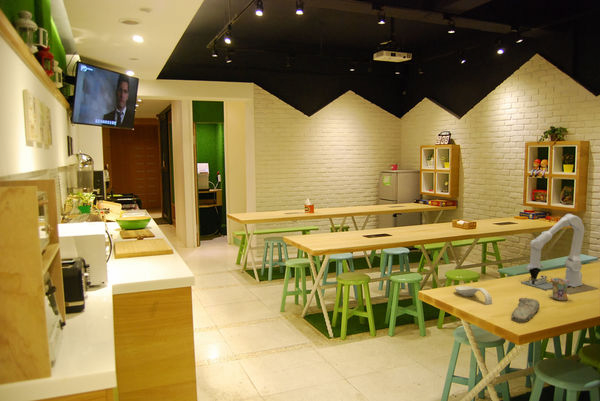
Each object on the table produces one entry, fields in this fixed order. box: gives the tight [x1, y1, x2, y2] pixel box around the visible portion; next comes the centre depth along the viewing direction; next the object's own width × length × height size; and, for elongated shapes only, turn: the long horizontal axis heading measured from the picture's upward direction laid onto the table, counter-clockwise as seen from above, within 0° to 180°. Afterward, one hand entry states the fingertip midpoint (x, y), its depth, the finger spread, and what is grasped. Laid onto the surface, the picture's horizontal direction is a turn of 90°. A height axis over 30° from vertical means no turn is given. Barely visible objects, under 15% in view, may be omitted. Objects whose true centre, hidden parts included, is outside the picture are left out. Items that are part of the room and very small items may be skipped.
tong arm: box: [534, 275, 548, 285], centre depth 280 cm, size 13×4×3 cm, turn 122°
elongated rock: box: [510, 297, 541, 324], centre depth 231 cm, size 35×5×10 cm
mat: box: [520, 279, 553, 291], centre depth 279 cm, size 15×16×1 cm
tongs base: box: [529, 277, 542, 284], centre depth 281 cm, size 12×3×3 cm, turn 119°
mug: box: [550, 277, 570, 301], centre depth 255 cm, size 12×9×11 cm
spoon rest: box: [454, 285, 493, 305], centre depth 253 cm, size 24×12×7 cm, turn 23°
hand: (533, 279), depth 285 cm, fingers closed
